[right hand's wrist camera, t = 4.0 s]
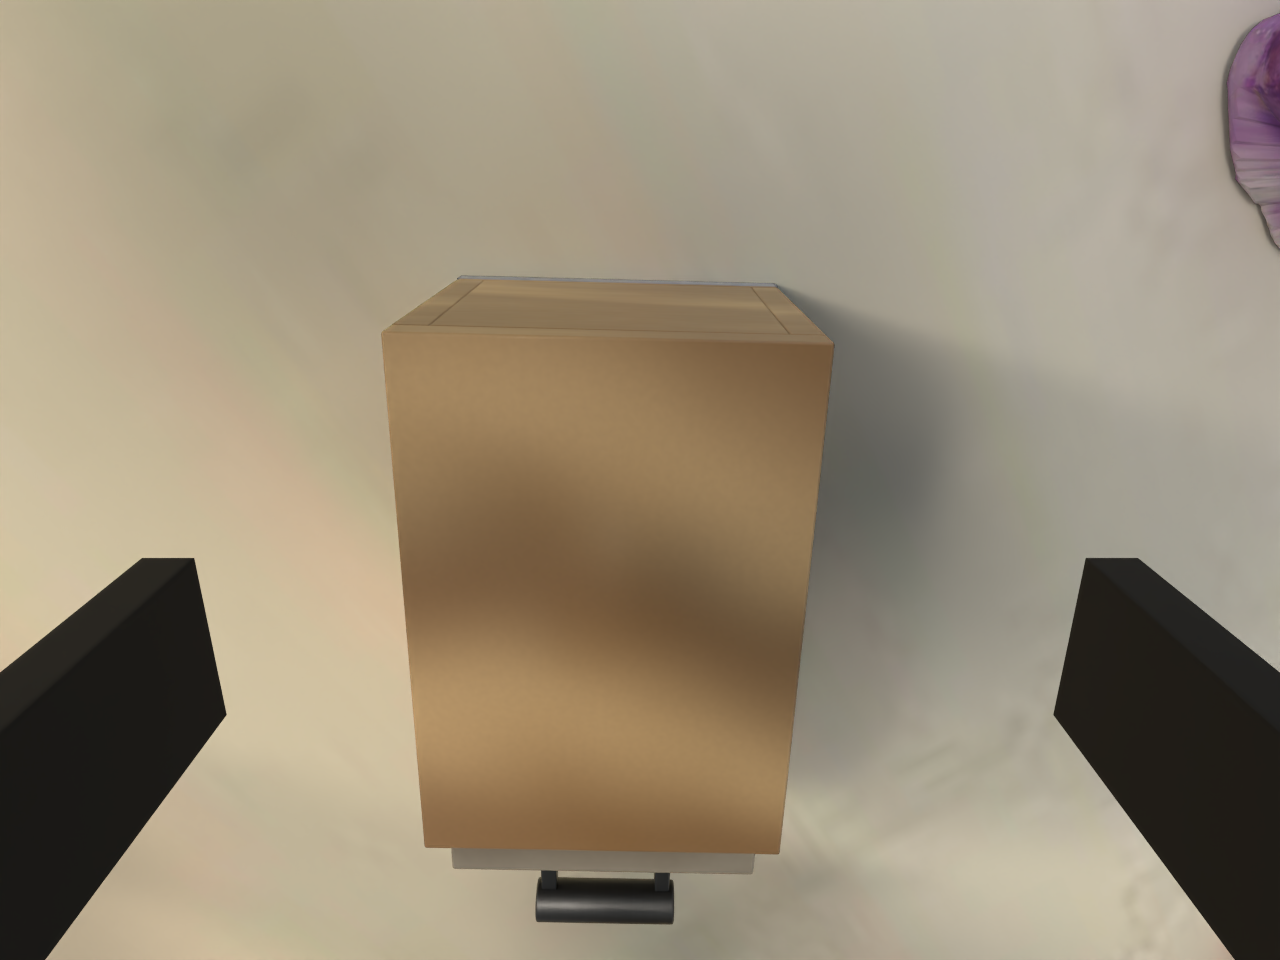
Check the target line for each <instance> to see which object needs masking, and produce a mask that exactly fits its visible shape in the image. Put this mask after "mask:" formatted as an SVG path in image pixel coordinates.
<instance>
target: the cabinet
mask: <svg viewBox="0 0 1280 960" xmlns="http://www.w3.org/2000/svg"><path fill="white" fill-rule="evenodd" d="M381 336H382V348H383V359H384V371H385V383H386V395H387V407H388V419H389V430H390V442H391V454H392V466H393V478H394V489H395V501H396V513H397V525H398V537H399V548H400V560H401V572H402V584H403V596H404V607H405V619H406V631H407V643H408V655H409V666H410V678H411V690H412V702H413V714H414V726H415V737H416V749H417V761H418V773H419V785H420V796H421V808H422V820H423V832H424V844H425V847H427V848H475V849H526V850H578V851H630V852H681V853H733V854H779V852H780V844H781V835H782V825H783V816H784V807H785V798H786V788H787V779H788V770H789V761H790V752H791V742H792V733H793V724H794V715H795V705H796V696H797V687H798V678H799V668H800V659H801V650H802V641H803V631H804V622H805V613H806V604H807V594H808V585H809V576H810V567H811V558H812V548H813V539H814V530H815V521H816V511H817V502H818V493H819V484H820V474H821V465H822V456H823V447H824V437H825V428H826V419H827V410H828V401H829V391H830V382H831V373H832V364H833V354H834V343H833V342H832V341H831V340H830V339H829V338H828V337H827V336H826V335H825V334H824V333H823V332H822V331H821V330H820V329H819V328H818V327H817V326H816V325H815V324H814V323H813V322H812V321H811V320H810V319H809V318H808V317H807V316H806V315H805V314H804V313H803V312H802V311H801V310H800V309H799V308H798V307H797V306H796V305H794V304H793V303H792V302H791V301H790V300H789V299H788V298H787V297H786V296H785V295H784V294H783V293H782V292H781V291H780V290H779V289H778V286H777V285H776V284H771V283H732V282H693V281H653V280H614V279H575V278H536V277H496V276H460V277H458V278H457V280H456V281H454V282H453V283H451V284H450V285H449V286H447V287H446V288H444V289H443V290H441V291H440V292H438V293H437V294H436V295H434V296H433V297H431V298H430V299H428V300H427V301H425V302H424V303H423V304H421V305H420V306H418V307H417V308H415V309H414V310H412V311H411V312H410V313H408V314H407V315H405V316H404V317H402V318H401V319H399V320H398V321H397V322H395V323H394V324H392V325H391V326H390V327H388V328H387V329H385V330H384V331H383V332H382V334H381Z"/></svg>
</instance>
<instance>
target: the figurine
mask: <svg viewBox="0 0 1280 960" xmlns="http://www.w3.org/2000/svg"><path fill="white" fill-rule="evenodd" d="M1227 88H1228V118H1229V137H1230V151H1231V156H1232V160H1233V164H1234V168H1235V172H1236V177H1235V179H1236V180H1237V182H1238V183H1239V184H1240V185H1241V186H1242V187H1243V189H1244V190H1245V191H1246V192H1247V193H1248V195H1249V196H1250V197H1251V199H1252V200H1253V202H1254V203H1258V204H1259V205H1260V206H1261V211H1262V213H1263V215H1264V216H1265V219H1266V221H1267V226H1268V228H1269V230H1270V235H1271V237H1272V239H1273V241H1274V242H1275V244H1276V245H1277V246H1278V247H1279V249H1280V13H1279V14H1277V15H1274V16H1272V17H1269V18H1266V19H1264V20H1262V21H1261V22H1260V23H1259V24H1258V25H1256V26H1255V27H1254V28H1253V29H1252V30H1251V31H1250V32H1249V34H1248V35H1247V36H1246V38H1245V39H1244V41H1243V42H1242V44H1241V45H1240V47H1239V50H1238V52H1237V54H1236V57H1235V59H1234V61H1233V63H1232V65H1231V68H1230V71H1229V75H1228V80H1227Z"/></svg>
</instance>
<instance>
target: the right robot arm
mask: <svg viewBox="0 0 1280 960" xmlns="http://www.w3.org/2000/svg"><path fill="white" fill-rule="evenodd" d="M225 716H226V710H225V705H224V700H223V695H222V690H221V686H220V681H219V676H218V671H217V666H216V661H215V657H214V652H213V647H212V642H211V637H210V632H209V628H208V623H207V618H206V613H205V608H204V603H203V599H202V594H201V589H200V584H199V579H198V574H197V570H196V565H195V560H194V558H142V559H140V560H139V561H138V562H137V563H135V564H134V565H133V566H132V567H131V568H129V569H128V570H127V571H126V572H124V573H123V574H122V575H121V576H119V577H118V578H117V579H116V580H114V581H113V582H112V583H111V584H109V585H108V586H107V587H106V588H104V589H103V590H102V591H101V592H100V593H98V594H97V595H96V596H95V597H93V598H92V599H91V600H90V601H88V602H87V603H86V604H85V605H83V606H82V607H81V608H80V609H78V610H77V611H76V612H75V613H73V614H72V615H71V616H70V617H69V618H67V619H66V620H65V621H64V622H62V623H61V624H60V625H59V626H57V627H56V628H55V629H54V630H52V631H51V632H50V633H49V634H47V635H46V636H45V637H44V638H42V639H41V640H40V641H39V642H38V643H36V644H35V645H34V646H33V647H31V648H30V649H29V650H28V651H26V652H25V653H24V654H23V655H21V656H20V657H19V658H18V659H16V660H15V661H14V662H13V663H11V664H10V665H9V666H8V667H7V668H5V669H4V670H3V671H2V672H0V960H45V959H46V958H47V957H48V955H49V954H50V953H51V951H52V950H53V948H54V947H55V946H56V944H57V943H58V942H59V940H60V939H61V938H62V936H63V935H64V934H65V932H66V931H67V930H68V928H69V927H70V926H71V924H72V923H73V921H74V920H75V919H76V917H77V916H78V915H79V913H80V912H81V911H82V909H83V908H84V907H85V905H86V904H87V903H88V901H89V900H90V899H91V897H92V896H93V894H94V893H95V892H96V890H97V889H98V888H99V886H100V885H101V884H102V882H103V881H104V880H105V878H106V877H107V876H108V874H109V873H110V872H111V870H112V869H113V867H114V866H115V865H116V863H117V862H118V861H119V859H120V858H121V857H122V855H123V854H124V853H125V851H126V850H127V849H128V847H129V846H130V844H131V843H132V842H133V840H134V839H135V838H136V836H137V835H138V834H139V832H140V831H141V830H142V828H143V827H144V826H145V824H146V823H147V822H148V820H149V819H150V817H151V816H152V815H153V813H154V812H155V811H156V809H157V808H158V807H159V805H160V804H161V803H162V801H163V800H164V799H165V797H166V796H167V795H168V793H169V792H170V790H171V789H172V788H173V786H174V785H175V784H176V782H177V781H178V780H179V778H180V777H181V776H182V774H183V773H184V772H185V770H186V769H187V768H188V766H189V765H190V763H191V762H192V761H193V759H194V758H195V757H196V755H197V754H198V753H199V751H200V750H201V749H202V747H203V746H204V745H205V743H206V742H207V741H208V739H209V738H210V736H211V735H212V734H213V732H214V731H215V730H216V728H217V727H218V726H219V724H220V723H221V722H222V720H223V719H224V718H225ZM1054 716H1055V718H1056V719H1057V720H1058V722H1059V723H1060V724H1061V726H1062V727H1063V728H1064V730H1065V731H1066V732H1067V734H1068V735H1069V736H1070V738H1071V739H1072V741H1073V742H1074V743H1075V745H1076V746H1077V747H1078V749H1079V750H1080V751H1081V753H1082V754H1083V755H1084V757H1085V758H1086V759H1087V761H1088V762H1089V763H1090V765H1091V766H1092V768H1093V769H1094V770H1095V772H1096V773H1097V774H1098V776H1099V777H1100V778H1101V780H1102V781H1103V782H1104V784H1105V785H1106V786H1107V788H1108V789H1109V790H1110V792H1111V793H1112V795H1113V796H1114V797H1115V799H1116V800H1117V801H1118V803H1119V804H1120V805H1121V807H1122V808H1123V809H1124V811H1125V812H1126V813H1127V815H1128V816H1129V817H1130V819H1131V820H1132V822H1133V823H1134V824H1135V826H1136V827H1137V828H1138V830H1139V831H1140V832H1141V834H1142V835H1143V836H1144V838H1145V839H1146V840H1147V842H1148V843H1149V845H1150V846H1151V847H1152V849H1153V850H1154V851H1155V853H1156V854H1157V855H1158V857H1159V858H1160V859H1161V861H1162V862H1163V863H1164V865H1165V866H1166V867H1167V869H1168V870H1169V872H1170V873H1171V874H1172V876H1173V877H1174V878H1175V880H1176V881H1177V882H1178V884H1179V885H1180V886H1181V888H1182V889H1183V890H1184V892H1185V893H1186V894H1187V896H1188V897H1189V899H1190V900H1191V901H1192V903H1193V904H1194V905H1195V907H1196V908H1197V909H1198V911H1199V912H1200V913H1201V915H1202V916H1203V917H1204V919H1205V920H1206V921H1207V923H1208V924H1209V926H1210V927H1211V928H1212V930H1213V931H1214V932H1215V934H1216V935H1217V936H1218V938H1219V939H1220V940H1221V942H1222V943H1223V944H1224V946H1225V947H1226V948H1227V950H1228V951H1229V953H1230V954H1231V955H1232V957H1233V958H1234V959H1235V960H1280V672H1278V671H1277V670H1276V669H1275V668H1273V667H1272V666H1271V665H1270V664H1269V663H1267V662H1266V661H1265V660H1264V659H1262V658H1261V657H1260V656H1259V655H1257V654H1256V653H1255V652H1254V651H1252V650H1251V649H1250V648H1249V647H1247V646H1246V645H1245V644H1244V643H1242V642H1241V641H1240V640H1239V639H1238V638H1236V637H1235V636H1234V635H1233V634H1231V633H1230V632H1229V631H1228V630H1226V629H1225V628H1224V627H1223V626H1221V625H1220V624H1219V623H1218V622H1216V621H1215V620H1214V619H1213V618H1211V617H1210V616H1209V615H1208V614H1207V613H1205V612H1204V611H1203V610H1202V609H1200V608H1199V607H1198V606H1197V605H1195V604H1194V603H1193V602H1192V601H1190V600H1189V599H1188V598H1187V597H1185V596H1184V595H1183V594H1182V593H1180V592H1179V591H1178V590H1177V589H1176V588H1174V587H1173V586H1172V585H1171V584H1169V583H1168V582H1167V581H1166V580H1164V579H1163V578H1162V577H1161V576H1159V575H1158V574H1157V573H1156V572H1154V571H1153V570H1152V569H1151V568H1149V567H1148V566H1147V565H1146V564H1145V563H1143V562H1142V561H1141V560H1140V559H1138V558H1086V560H1085V565H1084V570H1083V574H1082V579H1081V584H1080V589H1079V594H1078V599H1077V603H1076V608H1075V613H1074V618H1073V623H1072V628H1071V632H1070V637H1069V642H1068V647H1067V652H1066V657H1065V661H1064V666H1063V671H1062V676H1061V681H1060V686H1059V690H1058V695H1057V700H1056V705H1055V710H1054Z"/></svg>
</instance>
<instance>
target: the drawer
mask: <svg viewBox="0 0 1280 960" xmlns="http://www.w3.org/2000/svg"><path fill="white" fill-rule="evenodd" d="M451 851H452V865H453V868H454V869H499V870H541V877H540V878H539V879H538V884H537V893H536V921H537V922H565V923H619V924H673V921H674V883H673V880H671V879H670V873H708V874H752V873H753V869H754V859H755V854H733V853H681V852H630V851H578V850H526V849H475V848H451ZM558 871H603V872H654V879H620V878H567V877H558Z"/></svg>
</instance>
